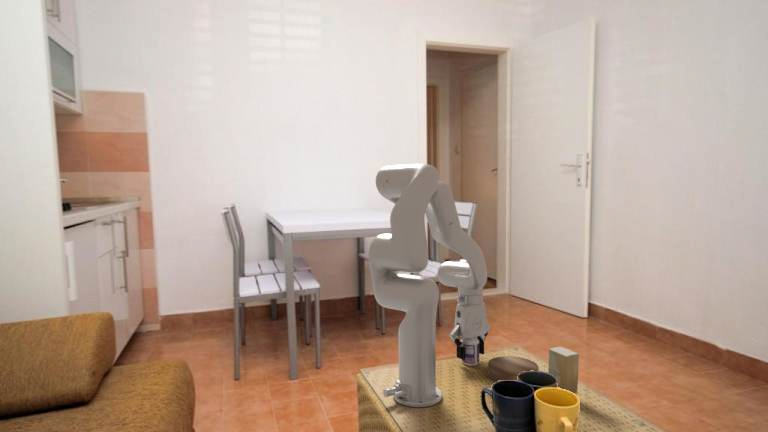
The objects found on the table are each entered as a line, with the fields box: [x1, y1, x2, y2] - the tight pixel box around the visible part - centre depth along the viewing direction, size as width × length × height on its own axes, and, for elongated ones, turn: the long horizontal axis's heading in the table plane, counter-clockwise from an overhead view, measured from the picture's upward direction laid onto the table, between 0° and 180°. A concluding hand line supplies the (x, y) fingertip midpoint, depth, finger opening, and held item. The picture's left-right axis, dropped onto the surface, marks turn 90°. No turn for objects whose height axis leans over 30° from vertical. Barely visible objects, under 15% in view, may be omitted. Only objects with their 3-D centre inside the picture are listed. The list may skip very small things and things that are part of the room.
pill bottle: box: [461, 337, 480, 367], centre depth 144 cm, size 5×5×10 cm
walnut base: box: [487, 355, 540, 382], centre depth 134 cm, size 14×14×3 cm
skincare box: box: [547, 346, 580, 395], centre depth 119 cm, size 6×4×12 cm
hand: (470, 355), depth 144 cm, fingers open, 7 cm apart
